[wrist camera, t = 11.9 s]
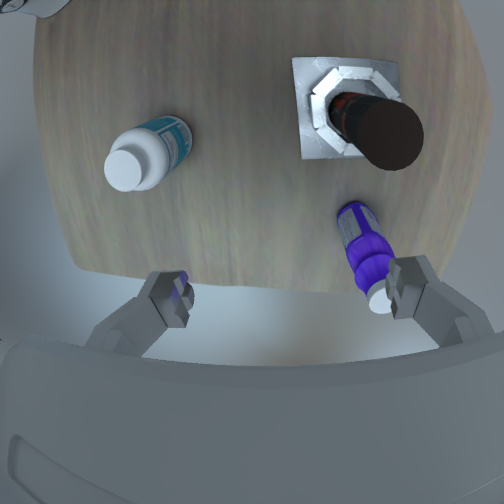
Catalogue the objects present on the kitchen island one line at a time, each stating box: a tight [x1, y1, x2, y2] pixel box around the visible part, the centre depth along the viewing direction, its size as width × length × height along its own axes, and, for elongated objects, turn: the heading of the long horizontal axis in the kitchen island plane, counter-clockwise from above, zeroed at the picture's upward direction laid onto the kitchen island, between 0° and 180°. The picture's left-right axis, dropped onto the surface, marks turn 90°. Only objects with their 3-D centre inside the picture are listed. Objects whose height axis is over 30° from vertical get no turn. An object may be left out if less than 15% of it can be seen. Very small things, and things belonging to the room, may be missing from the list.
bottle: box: [337, 202, 395, 314], centre depth 32 cm, size 7×6×17 cm
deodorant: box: [328, 92, 424, 171], centre depth 24 cm, size 6×6×15 cm
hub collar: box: [291, 57, 401, 159], centre depth 27 cm, size 14×14×5 cm
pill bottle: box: [104, 116, 192, 192], centre depth 29 cm, size 8×7×14 cm
